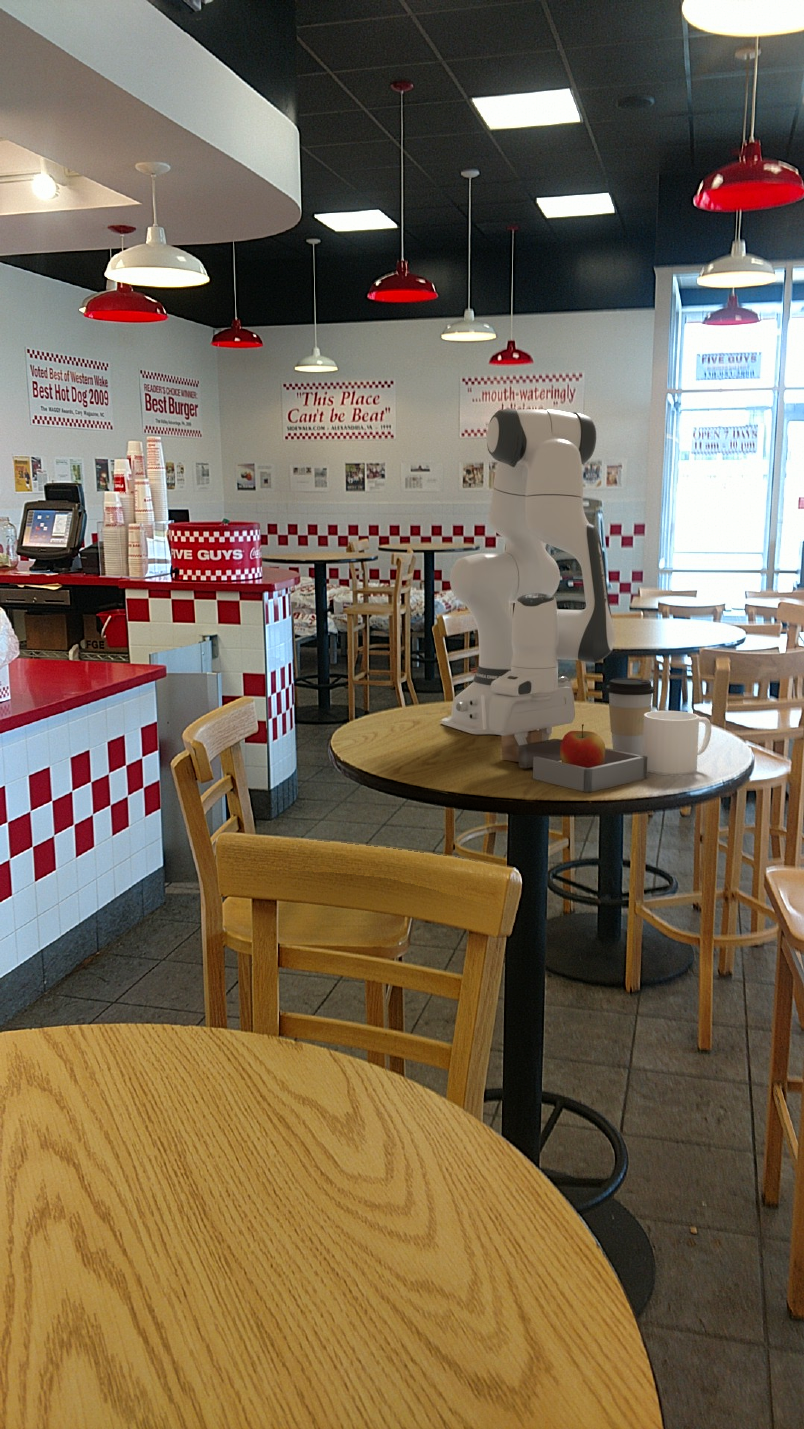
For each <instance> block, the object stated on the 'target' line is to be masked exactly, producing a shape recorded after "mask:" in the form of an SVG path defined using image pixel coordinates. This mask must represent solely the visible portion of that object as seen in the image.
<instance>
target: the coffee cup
mask: <svg viewBox="0 0 804 1429" xmlns="http://www.w3.org/2000/svg"><path fill="white" fill-rule="evenodd" d="M605 692H606V693H608V700H609V701H608V702H609V704H608V710H609V723H610V724H609V727H610V733H611V739H612V740H611V744H612V749H613V750H618V751H622V752H627V753H632V754H637V755H642V752H643V726H644V714H645V713H647V712H652V711H651V710H652V700H653V699H652V698H653V694H654V693H656V692H655V687H654V686H652V680H651V681H650V680H648V679H643V678H632V677H631V678H630V677H620V678H619V677H618V678H613V679H610V680H609V684H608V685H606V689H605Z"/></svg>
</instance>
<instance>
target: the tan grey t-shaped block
mask: <svg viewBox="0 0 804 1429" xmlns="http://www.w3.org/2000/svg"><path fill="white" fill-rule="evenodd" d="M500 737H501V741H500V742H501V743H500V744H501V760H503V761H509V762H510V761H511V762H517V763H518V767H520V768H525V769H527V768H533V757H542V758H546V759H550V760H555V761H559V762H562V761H561V757H560V747H561V742H562V739H563V738H562V739H561V738H549V739H548V740H545V741H542V731H540V730H539V729H538V730H533V731H528V736H527V737H525V738H526V741H527V744H524V745H519V744H518V742H517V740H516V738H515V734H512V735H506V736H502V735H500Z"/></svg>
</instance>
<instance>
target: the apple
mask: <svg viewBox="0 0 804 1429" xmlns="http://www.w3.org/2000/svg"><path fill="white" fill-rule="evenodd" d="M605 748H606V744H605V741H604V740H603V738H602V737H601V735H598V734H597V733H595V732H593V731H588V730H584V723H583V724H581V730H570V731H568V732H567V733H565V735H564V736H563V737H562V742H561V747H560V757H561V761H560V762H563V763H568V764H572V765H576V766H581V767H585V768H591V767H596V766H600V765H602V764H603V762H604V758H605Z"/></svg>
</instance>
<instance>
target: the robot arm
mask: <svg viewBox="0 0 804 1429" xmlns="http://www.w3.org/2000/svg"><path fill="white" fill-rule="evenodd" d="M596 444H597V428H596V425H595V423H594V422H593V419H592V418H591V417H590V416H588V415H585V414H582V413H580V412H575V411H573V412H568V411H564V410H563V411H562V410H557V409H551V408H550V409H549V408H543V409H539V408H537V409H534V408H531V409H530V408H528V409H527V408H525V409H524V408H523V409H516V408H513V407H512V408H511V407H510V408H503V409H500V410H497V411H495V413H494V414H493V415H492V416H491V418H490V421H489V423H488V427H487V430H486V445H487V451H488V453H489V454H490V456H491V457H492V458H493V459H494V460H495V461H497V466H496V470H495V473H494V479H493V484H492V485H493V486H492V491H491V497H490V505H489V510H488V522H489V525H490V527H491V529H492V530H493V531H494V533H496V534H498V535H499V536H500V537H502V538H504V540H505V550H504V552H489V553H488V552H487V553H481V552H480V553H476V554H475V553H474V554H470V555H466V556H464V557H459V558H458V559H457V560H456V561H455V562H454V564H453V566H452V567H451V570H450V573H449V574H450V575H449V584H450V586H449V587H450V589H451V592H452V593H453V595H454V597H455V598H456V599H457V600H458V601H459V602H460V603H462V604H463V605H464V606H465V607H466V609H468V611H469V613H470V615H471V616H472V618H473V620H474V622H475V626H476V628H477V629H476V630H477V634H478V648H479V649H478V654H479V657H478V658H479V660H478V662H479V665H478V666H477V667H474V668H470V670H471V672H470V674H471V675H472V674H474V676H473V682H472V683H470V684H469V685H468V686H467V687H466V688H464V689H463V690H462V691H461V692H460V693H458V694H457V695H456V696H455V697H454V698H453V700H452V706H451V716H450V715H449V716H446V717H444V718H442V719H441V720H440V724H441V725H443V726H447V727H449V728H453V729H456V730H459V731H461V732H462V731H463V732H465V733H469V734H472V735H498V736H501V735H502V736H506V735H512V734H515V738H516V740H517V742H518V744H519V745H524V744H527V741H526V738H525V737H527V736H528V731H533V730H540V731H542V741H545V740H550V737H551V735H552V732H553V728H554V727H559V726H565V725H571V724H572V723H573V722H574V720H575V717H576V706H575V696H574V691H573V684H572V681H571V680H570V679H569V678H568V677H567V676H559V673H558V672H559V661H558V660H574V661H575V660H577V661H580V662H584V663H585V662H586V663H592V664H597V663H599V662H601V661H602V660H604V659H606V658H607V657H608V655H610V654H611V653H612V652H613V650H614V648H615V643H616V642H615V641H616V630H615V626H614V622H613V616H612V613H611V612H612V611H611V607H610V599H609V592H608V591H609V590H608V583H607V574H606V568H605V567H606V566H605V560H604V559H605V558H604V553H603V545H602V540H601V537H600V533H599V531H598V528H597V527H596V526H595V525H593V524H591V523H590V522H589V521H588V518H587V516H586V514H585V509H584V473H583V465H584V464H586V462H588V461H589V460H590V459H591V458H592V456H593V454H594V452H595V449H596ZM544 544H546V545H549V546H551V547H553V548H556V549H558V550H561V551H564V552H565V553H567V554H569V555H570V556H573V558H575V559H576V560H577V562H578V564H579V566H580V568H581V569H580V570H581V576H582V582H583V583H582V584H583V591H584V598H585V599H584V600H585V608H584V609H559V608H558V605H557V599H556V597H554V596H553V595H554V594H555V593H556V592H557V590H558V588H559V585H560V581H561V572H560V569H559V568H560V567H559V564H558V563H557V562H556V560H555V559H554V557H552V556H551V555H550V554H549V553H548V551H547V550H546V548H545V545H544ZM510 604H514V609H513V612H512V613H513V614H511V610H510ZM558 676H559V677H558Z"/></svg>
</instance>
